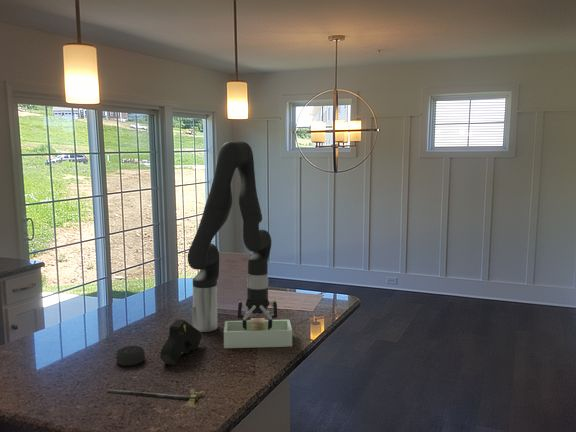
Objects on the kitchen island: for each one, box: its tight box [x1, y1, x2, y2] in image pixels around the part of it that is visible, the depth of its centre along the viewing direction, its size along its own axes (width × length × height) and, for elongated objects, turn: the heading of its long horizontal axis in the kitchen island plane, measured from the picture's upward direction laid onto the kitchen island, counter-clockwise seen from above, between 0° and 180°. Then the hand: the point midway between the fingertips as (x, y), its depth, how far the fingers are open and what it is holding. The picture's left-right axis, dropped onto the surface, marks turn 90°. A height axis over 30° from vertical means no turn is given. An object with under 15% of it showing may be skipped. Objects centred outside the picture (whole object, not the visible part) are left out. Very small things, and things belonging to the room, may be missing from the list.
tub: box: [223, 319, 293, 349], centre depth 186 cm, size 24×12×6 cm, turn 95°
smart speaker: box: [115, 345, 146, 367], centre depth 167 cm, size 9×9×4 cm
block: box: [250, 317, 266, 331], centre depth 185 cm, size 5×5×7 cm
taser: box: [159, 319, 203, 366], centre depth 172 cm, size 4×18×15 cm
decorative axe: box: [106, 388, 205, 408], centre depth 145 cm, size 30×2×10 cm
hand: (257, 329), depth 186 cm, fingers open, 8 cm apart
